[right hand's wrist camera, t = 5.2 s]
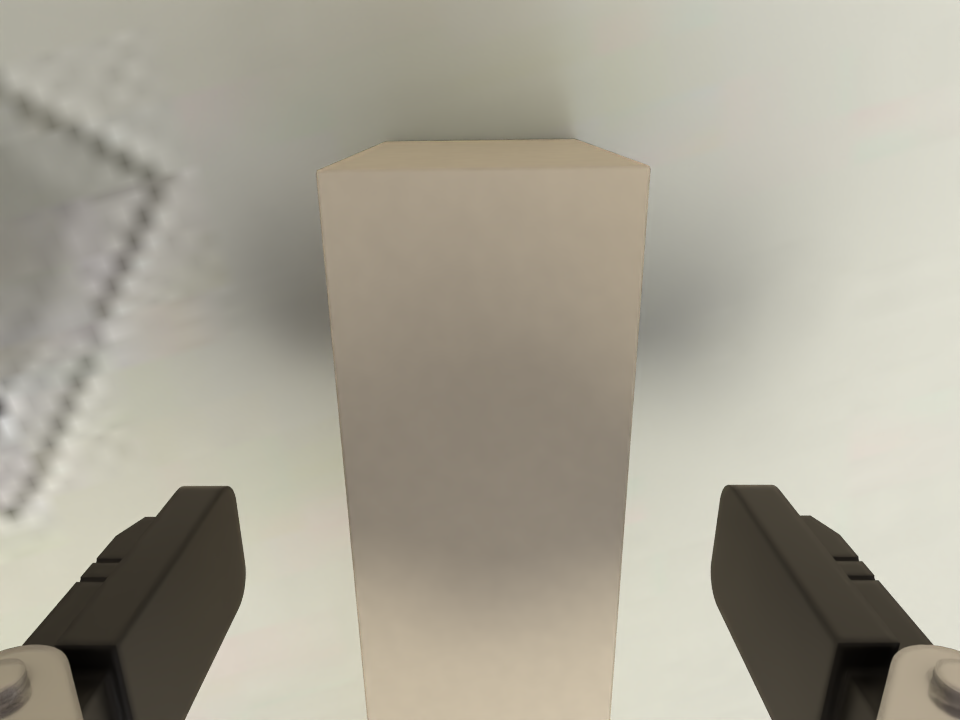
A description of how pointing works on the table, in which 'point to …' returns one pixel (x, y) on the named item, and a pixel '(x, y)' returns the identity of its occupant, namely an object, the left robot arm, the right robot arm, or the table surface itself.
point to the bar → (485, 417)
